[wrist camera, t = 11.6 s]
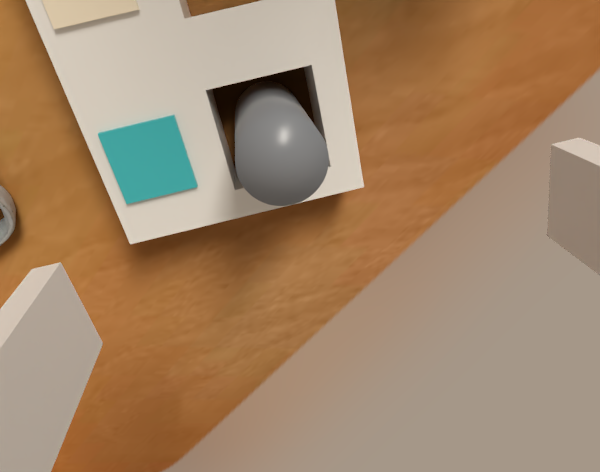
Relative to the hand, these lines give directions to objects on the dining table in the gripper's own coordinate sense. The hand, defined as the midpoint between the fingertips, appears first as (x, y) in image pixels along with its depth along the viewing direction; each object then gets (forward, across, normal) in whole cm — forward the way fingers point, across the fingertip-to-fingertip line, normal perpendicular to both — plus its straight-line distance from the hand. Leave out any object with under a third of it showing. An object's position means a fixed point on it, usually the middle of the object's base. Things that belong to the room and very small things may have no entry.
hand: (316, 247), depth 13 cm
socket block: (+18, +3, -4) cm, 19 cm away
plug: (+18, 0, 0) cm, 18 cm away
